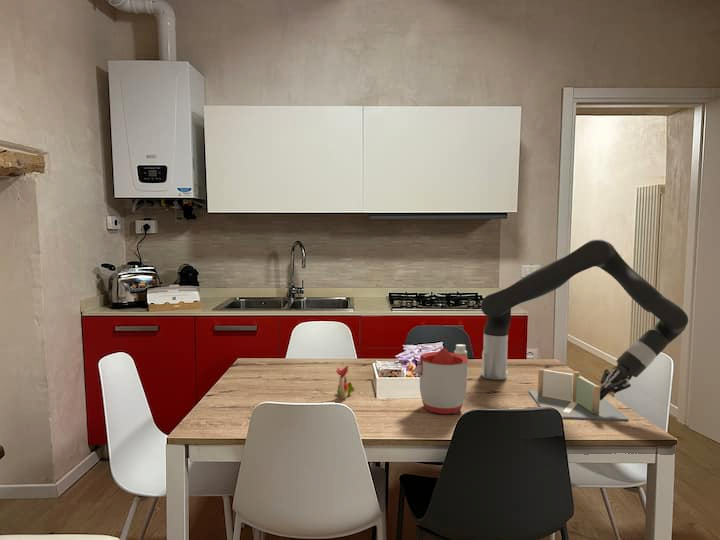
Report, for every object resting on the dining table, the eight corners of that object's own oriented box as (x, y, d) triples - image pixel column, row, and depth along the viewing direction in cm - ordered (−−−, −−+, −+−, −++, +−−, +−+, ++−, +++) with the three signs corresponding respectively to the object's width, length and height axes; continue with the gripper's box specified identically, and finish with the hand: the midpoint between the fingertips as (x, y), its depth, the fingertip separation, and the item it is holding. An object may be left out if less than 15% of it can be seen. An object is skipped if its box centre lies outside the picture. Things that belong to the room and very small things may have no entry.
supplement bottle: (467, 366, 220) (468, 344, 219) (466, 370, 214) (466, 347, 214) (454, 365, 221) (455, 343, 220) (452, 368, 216) (453, 346, 215)
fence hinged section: (574, 401, 174) (575, 376, 173) (580, 401, 174) (581, 376, 173) (594, 414, 162) (595, 387, 162) (600, 414, 163) (601, 387, 162)
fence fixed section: (579, 401, 176) (580, 372, 175) (577, 402, 174) (579, 373, 173) (538, 393, 183) (539, 365, 182) (536, 395, 182) (538, 366, 181)
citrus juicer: (411, 400, 177) (412, 342, 175) (462, 401, 177) (464, 343, 175) (414, 417, 162) (415, 353, 160) (470, 418, 161) (472, 354, 159)
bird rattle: (353, 405, 177) (355, 387, 185) (351, 380, 172) (354, 363, 180) (335, 405, 178) (337, 387, 186) (333, 380, 173) (336, 362, 180)
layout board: (548, 418, 162) (548, 415, 161) (528, 392, 186) (528, 390, 186) (628, 421, 160) (628, 418, 160) (598, 394, 184) (598, 392, 184)
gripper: (617, 345, 170) (579, 383, 171) (639, 355, 157) (598, 396, 158) (633, 361, 171) (595, 399, 171) (656, 372, 157) (616, 413, 158)
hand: (597, 397), depth 165 cm, fingers closed
